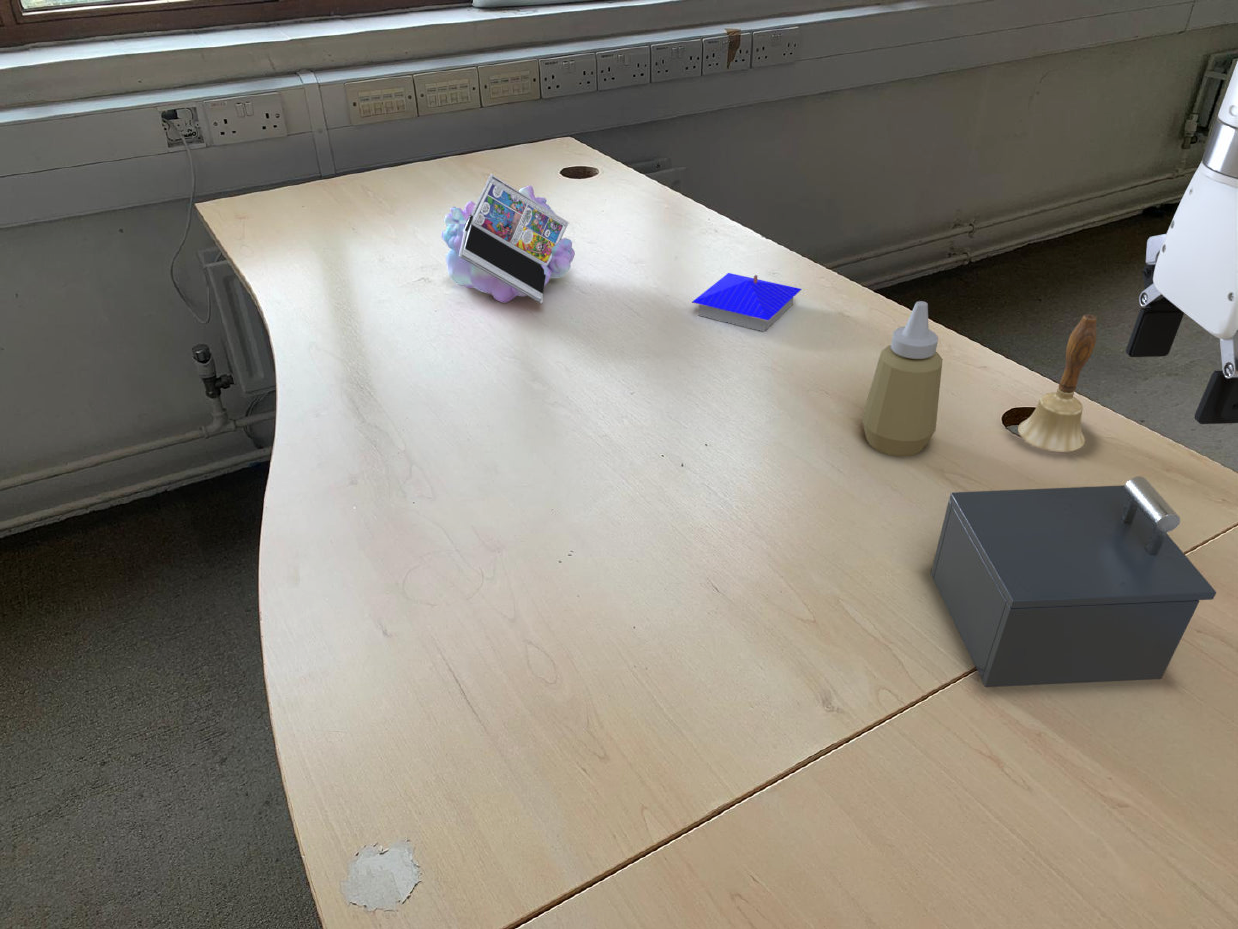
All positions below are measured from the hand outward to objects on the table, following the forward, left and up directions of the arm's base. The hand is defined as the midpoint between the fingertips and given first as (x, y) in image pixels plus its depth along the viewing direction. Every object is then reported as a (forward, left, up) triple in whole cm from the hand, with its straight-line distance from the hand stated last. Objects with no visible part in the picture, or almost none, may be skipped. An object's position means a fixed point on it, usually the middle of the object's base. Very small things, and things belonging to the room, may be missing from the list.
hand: (1179, 386), depth 67 cm
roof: (+21, -64, -24) cm, 72 cm away
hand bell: (-8, -27, -24) cm, 37 cm away
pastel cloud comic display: (+56, -76, -24) cm, 97 cm away
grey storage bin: (+6, +2, -24) cm, 24 cm away
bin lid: (+5, +2, -14) cm, 15 cm away
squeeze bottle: (+10, -27, -24) cm, 37 cm away
